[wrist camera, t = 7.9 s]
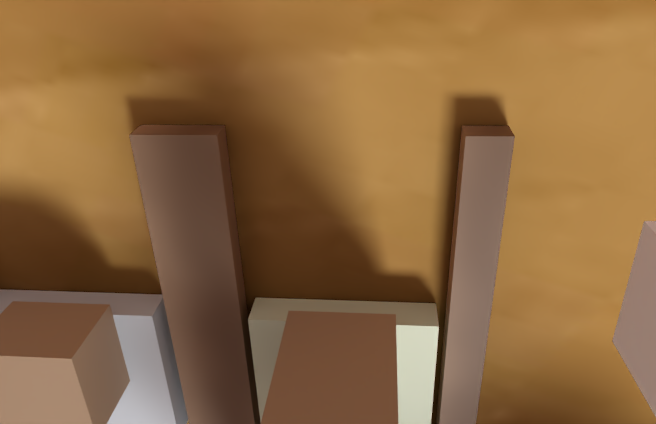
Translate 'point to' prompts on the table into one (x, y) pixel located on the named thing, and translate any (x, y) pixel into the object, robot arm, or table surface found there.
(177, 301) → the lane frame
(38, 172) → the table surface
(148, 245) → the table surface
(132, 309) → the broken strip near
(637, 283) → the robot arm
